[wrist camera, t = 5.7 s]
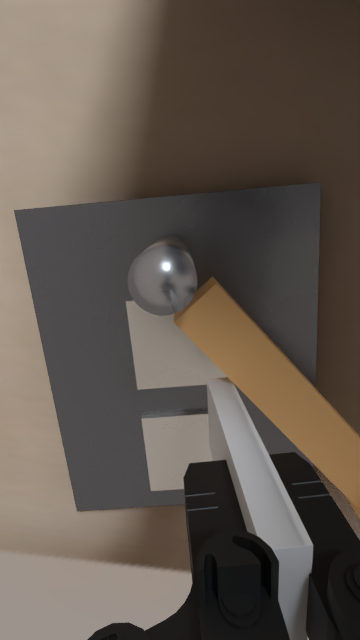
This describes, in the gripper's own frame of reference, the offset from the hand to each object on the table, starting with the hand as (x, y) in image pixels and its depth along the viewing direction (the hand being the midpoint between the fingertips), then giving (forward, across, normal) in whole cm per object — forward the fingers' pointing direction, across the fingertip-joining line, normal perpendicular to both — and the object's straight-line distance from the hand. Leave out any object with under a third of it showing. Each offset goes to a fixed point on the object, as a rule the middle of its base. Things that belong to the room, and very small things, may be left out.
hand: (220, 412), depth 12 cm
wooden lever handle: (+1, +3, 0) cm, 3 cm away
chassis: (+6, -1, 0) cm, 6 cm away
